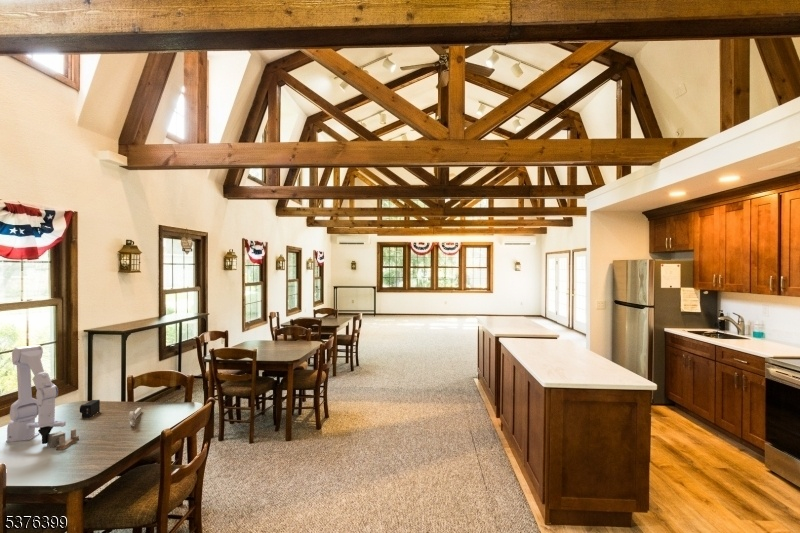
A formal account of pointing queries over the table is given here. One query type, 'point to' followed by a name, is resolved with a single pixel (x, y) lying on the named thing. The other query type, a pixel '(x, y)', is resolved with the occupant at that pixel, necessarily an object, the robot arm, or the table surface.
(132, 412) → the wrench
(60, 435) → the dice cube
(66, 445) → the peg rack
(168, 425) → the table surface
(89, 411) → the digital camera
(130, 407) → the table surface
